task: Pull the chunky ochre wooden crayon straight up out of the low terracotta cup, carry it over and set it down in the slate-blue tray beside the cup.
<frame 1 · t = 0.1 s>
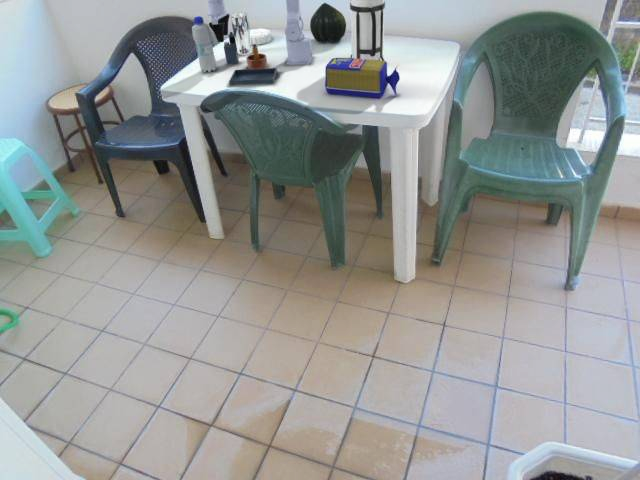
hand: (223, 38, 187), 10 cm above the table, tool pointing down, fingers open, 7 cm apart
pen cup: (257, 67, 188), on the table
coffee press: (369, 62, 185), on the table
beer glass: (245, 53, 202), on the table
squash: (328, 40, 207), on the table
bread: (361, 92, 165), on the table
bottle: (209, 71, 189), on the table
crayon: (257, 66, 188), resting on pen cup
tray: (254, 79, 180), on the table
mooncake: (258, 40, 213), on the table
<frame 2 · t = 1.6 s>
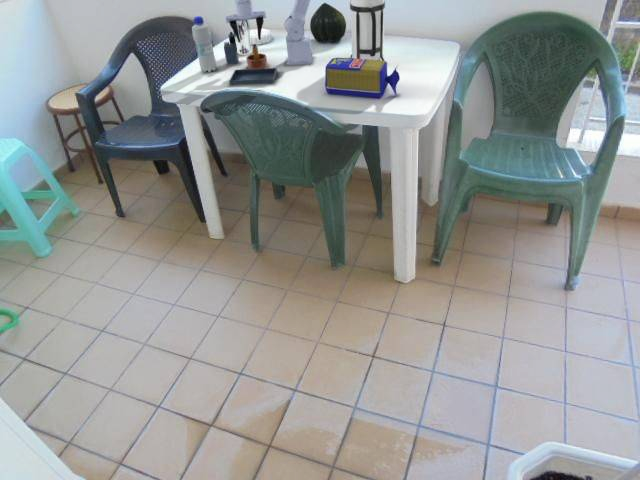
hand: (249, 40, 182), 10 cm above the table, tool pointing down, fingers open, 7 cm apart
nothing on the table moved.
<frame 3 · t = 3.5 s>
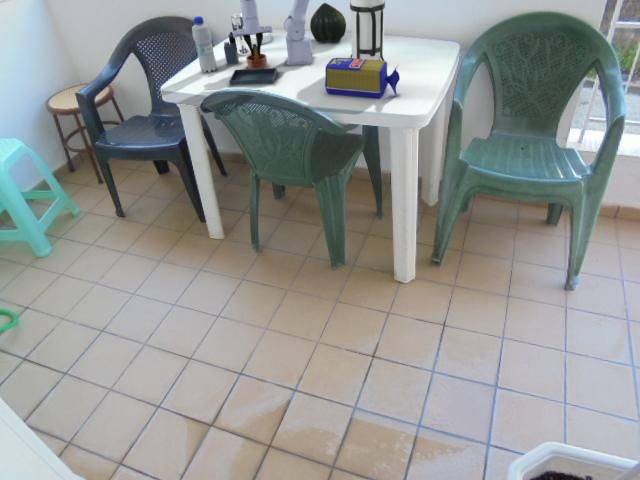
hand: (255, 54, 185), 5 cm above the table, tool pointing down, fingers closed on crayon, 2 cm apart
crayon: (257, 66, 188), point 1 cm above the table, touching gripper, pen cup
everything else where it was.
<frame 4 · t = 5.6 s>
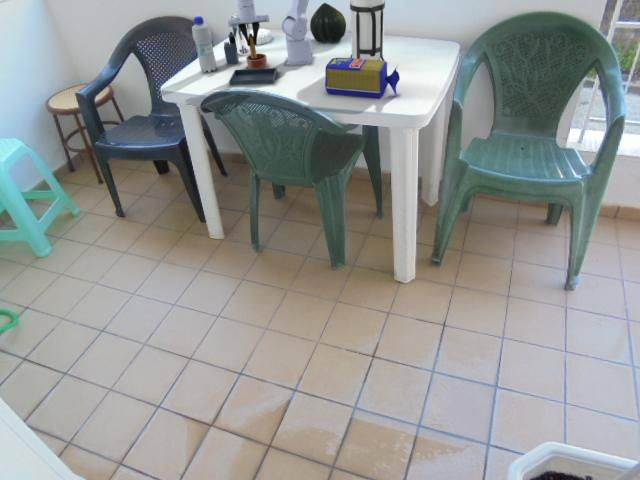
hand: (252, 44, 178), 10 cm above the table, tool pointing down, fingers closed on crayon
crayon: (254, 57, 181), point 6 cm above the table, touching gripper
everything else where it was.
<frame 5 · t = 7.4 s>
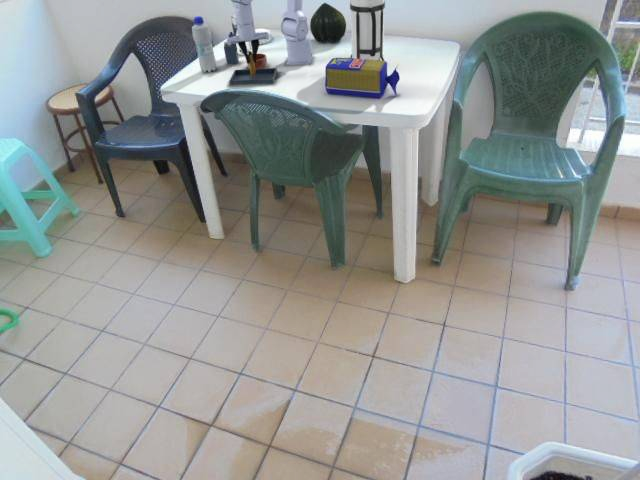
hand: (251, 62, 175), 7 cm above the table, tool pointing down, fingers closed on crayon, 2 cm apart
crayon: (253, 74, 178), point 2 cm above the table, touching gripper
everything else where it was.
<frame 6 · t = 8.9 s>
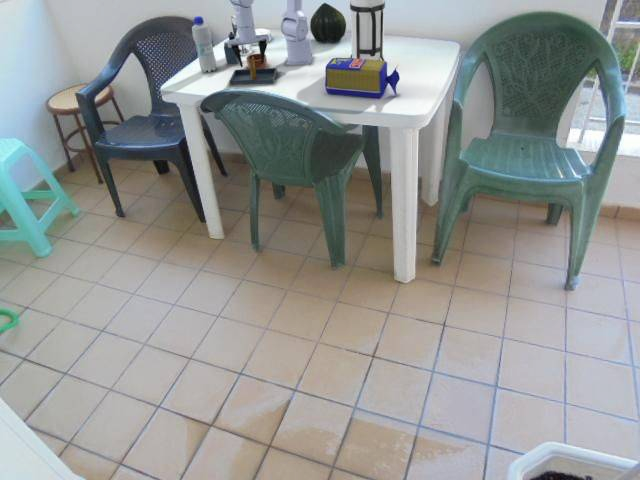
hand: (251, 64, 176), 6 cm above the table, tool pointing down, fingers open, 7 cm apart
crayon: (254, 78, 179), resting on tray
everything else where it was.
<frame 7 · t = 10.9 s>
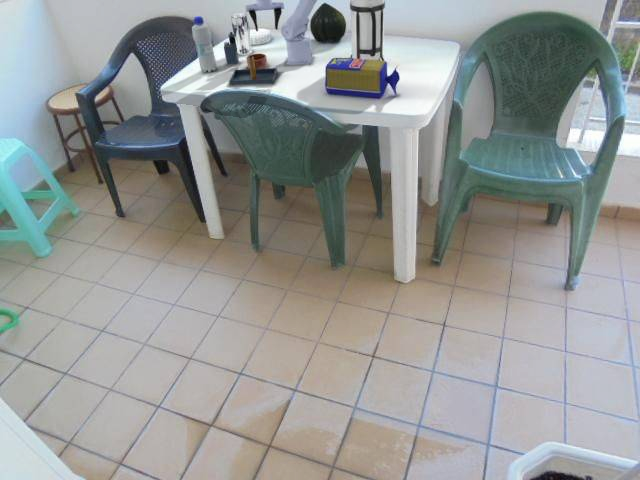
hand: (266, 29, 190), 10 cm above the table, tool pointing down, fingers open, 7 cm apart
nothing on the table moved.
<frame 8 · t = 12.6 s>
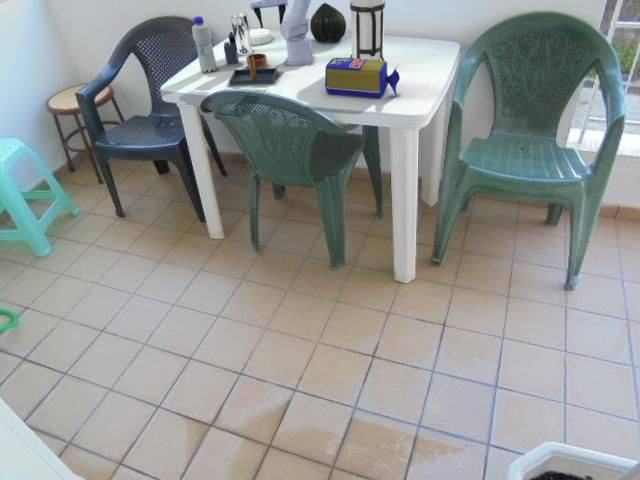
hand: (271, 26, 193), 10 cm above the table, tool pointing down, fingers open, 7 cm apart
nothing on the table moved.
at the end: crayon inside the target area in the tray (0.0 cm from its centre), point 0.5 cm above the tray's base; crayon touching tray; the gripper is holding nothing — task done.
